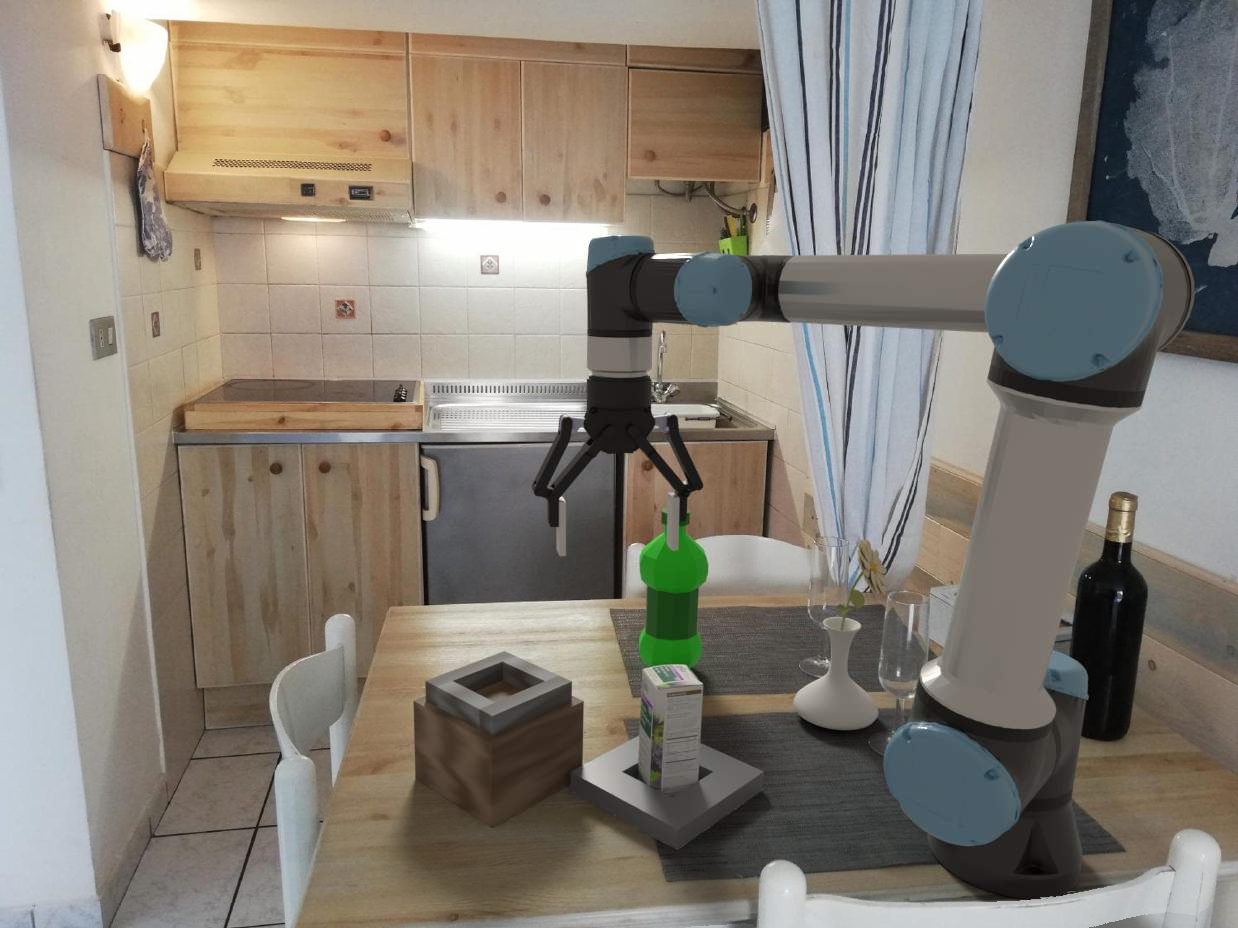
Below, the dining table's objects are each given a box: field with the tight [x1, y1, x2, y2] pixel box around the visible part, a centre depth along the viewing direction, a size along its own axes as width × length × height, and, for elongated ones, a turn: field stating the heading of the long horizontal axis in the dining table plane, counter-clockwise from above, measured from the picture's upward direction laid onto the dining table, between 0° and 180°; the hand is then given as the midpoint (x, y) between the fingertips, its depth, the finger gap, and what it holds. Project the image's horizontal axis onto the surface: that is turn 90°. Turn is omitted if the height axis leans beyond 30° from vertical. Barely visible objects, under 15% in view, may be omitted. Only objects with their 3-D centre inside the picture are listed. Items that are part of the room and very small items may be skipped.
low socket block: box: [569, 735, 765, 850], centre depth 109 cm, size 16×16×2 cm
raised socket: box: [413, 650, 585, 828], centre depth 110 cm, size 14×14×12 cm
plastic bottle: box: [638, 506, 709, 670], centre depth 139 cm, size 10×10×25 cm
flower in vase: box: [792, 539, 890, 731], centre depth 126 cm, size 13×11×25 cm
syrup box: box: [638, 664, 704, 798], centre depth 108 cm, size 6×6×14 cm
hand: (617, 550), depth 112 cm, fingers open, 13 cm apart
